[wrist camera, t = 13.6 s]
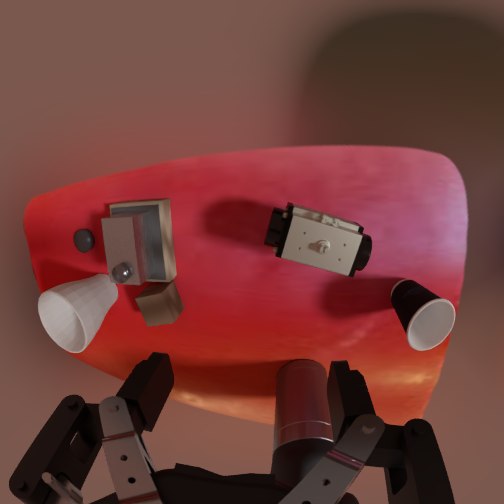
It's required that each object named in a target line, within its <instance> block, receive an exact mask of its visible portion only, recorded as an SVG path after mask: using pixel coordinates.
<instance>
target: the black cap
mask: <svg viewBox="0 0 504 504" xmlns="http://www.w3.org/2000/svg"><path fill="white" fill-rule="evenodd" d="M94 242H95V241H94V236H93V234H92V232H91V231H90V230H88V229H82V230H79V231H77V232H76V234H75V236H74V243H75V246H76V248H77V249H78V250H79V251H80V252H83V253H85V252H88V251H89V250H91V249H92V248H93V247H94Z"/></svg>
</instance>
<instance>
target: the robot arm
mask: <svg viewBox="0 0 504 504" xmlns="http://www.w3.org/2000/svg"><path fill="white" fill-rule="evenodd" d="M173 385H174V374H173V370H172V366H171V362H170V358H169V355H168V354H166V353H158V352H153V353H152V354H151V355H150V357H149V359H148V360H143V361H141V362H140V363H139V364H137V365H136V366H135V368H134V369H133V371H132V373H131V374H130V375H129V377H128V378H127V379H126V381H125V382H124V384H123V386H122V387H121V388H120V390H119V391H118V393H117V394H116V396H112V397H107V398H105V399H104V400H102V401H101V403H100V404H90V403H85V401H84V399H83V398H82V397H81V396H79V395H70V396H67V397H65V398H64V399H63V400H62V401H61V403H60V404H59V405H58V407H57V408H56V410H55V411H54V413H53V414H52V415H51V417H50V418H49V420H48V421H47V422H46V424H45V425H44V427H43V428H42V430H41V431H40V432H39V434H38V435H37V437H36V438H35V440H34V442H33V443H32V444H31V446H30V447H29V449H28V450H27V452H26V454H25V455H24V457H23V458H22V460H21V461H20V463H19V465H18V466H17V468H16V470H15V471H14V473H13V475H12V476H11V478H10V480H9V488H10V490H11V492H12V493H13V494H14V495H15V496H16V497H17V498H18V499H20V500H21V501H22V502H24V504H83V496H82V493H81V492H80V490H81V488H82V486H83V484H84V481H85V479H86V477H87V475H88V473H89V471H90V469H91V467H92V465H93V463H94V460H95V458H96V456H97V454H98V452H99V450H100V448H101V446H102V444H103V448H104V452H105V456H106V460H107V463H108V467H109V471H110V474H111V478H112V481H113V484H114V487H115V490H116V492H115V493H112V494H110V495H108V496H106V497H104V498H101V499H99V500H97V501H94V502H92V503H90V504H359V502H358V500H357V498H356V497H355V496H354V495H353V494H350V493H347V492H346V491H347V490H348V489H349V487H350V486H351V484H352V483H353V482H354V480H355V478H357V476H358V475H359V473H360V472H361V470H362V469H363V467H364V466H374V467H384V472H385V479H386V486H387V494H388V502H389V504H455V502H454V497H453V493H452V489H451V485H450V482H449V478H448V475H447V471H446V468H445V465H444V461H443V458H442V455H441V452H440V449H439V446H438V443H437V440H436V437H435V435H434V432H433V429H432V426H431V425H430V424H429V423H428V422H427V421H425V420H423V419H412V420H410V421H408V422H407V423H406V424H405V425H404V426H399V425H390V424H386V423H384V421H383V420H382V419H381V418H380V417H379V416H376V414H375V410H374V407H373V404H372V401H371V398H370V395H369V392H368V388H367V386H366V382H365V379H364V376H363V375H362V374H361V373H360V372H359V371H358V370H350V368H349V365H348V362H347V360H345V361H332V362H331V365H330V371H329V376H328V378H327V372H326V370H325V368H324V367H323V366H322V365H321V364H320V363H318V362H315V361H312V360H297V361H293V362H290V363H288V364H286V365H285V366H283V367H282V368H281V369H280V371H279V372H278V375H277V385H276V404H275V424H274V445H273V459H272V467H271V473H270V474H254V473H249V474H240V475H231V476H221V475H218V474H216V473H213V472H210V471H208V470H205V469H202V468H200V467H194V466H189V465H184V464H179V463H176V465H175V468H174V469H165V470H160V471H157V470H156V468H155V466H154V465H153V462H152V460H151V457H150V455H149V453H148V450H147V448H146V445H145V442H144V440H143V437H142V435H141V434H142V432H143V430H146V431H149V432H152V430H153V428H154V426H155V423H156V421H157V419H158V417H159V415H160V413H161V411H162V409H163V407H164V404H165V402H166V400H167V398H168V396H169V394H170V392H171V390H172V388H173ZM76 432H77V434H76ZM75 434H76V436H75ZM74 436H75V438H74V440H73V441H72V439H73V437H74ZM71 441H72V443H71ZM70 443H71V445H70Z"/></svg>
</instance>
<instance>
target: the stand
mask: <svg viewBox="0 0 504 504" xmlns="http://www.w3.org/2000/svg"><path fill="white" fill-rule="evenodd" d="M139 211H150V225H151V236H152V247H153V256H154V265H155V273H154V274H153V275H152V276H150V277H149V278H148V279H147V280H146V281H153V282H171V281H172V280H173V278H174V277H175V276H176V275H177V273H176V264H175V255H174V246H173V235H172V224H171V211H170V198H167V199H153V200H140V201H128V202H119V203H115V204H111V205H110V214H111V215H114V214H117V213H120V212H139Z"/></svg>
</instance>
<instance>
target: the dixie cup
mask: <svg viewBox="0 0 504 504" xmlns="http://www.w3.org/2000/svg"><path fill="white" fill-rule="evenodd" d="M391 302H392V305H393V307H394V309H395V311H396V313H397V315H398V317H399V320H400V322H401V324H402V326H403V328H404V330H405V332H406V335H407V341H408V343H409V345H410V346H411V347H412V348H413V349H415V350H419V351H424V350H428V349H431V348H433V347H435V346H437V345H438V344H440V343H441V342H442V341H443V340H444V339H445V338H446V337H447V336H448V334H449V333H450V331H451V329H452V327H453V324H454V321H455V309H454V307H453V305H452V303H451V302H450V301H448V300H446V299H442V298H440V297H439V296H437V295H436V294H434V293H432V292H431V291H429V290H428V289H426V288H425V287H423V286H421V285H420V284H418V283H417V282H415V281H413V280H409V279H403V280H400V281H399V282H397V283H396V284H395V285H394V287H393V288H392V291H391Z"/></svg>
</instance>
